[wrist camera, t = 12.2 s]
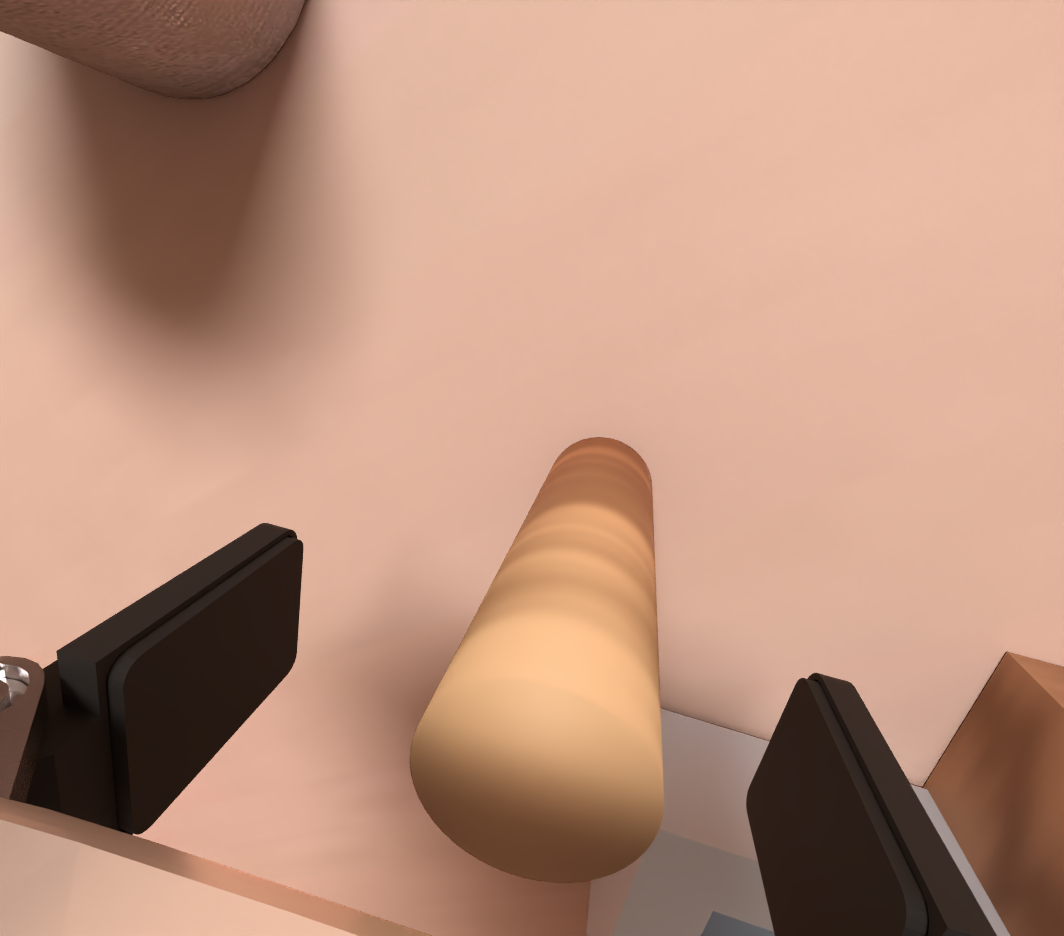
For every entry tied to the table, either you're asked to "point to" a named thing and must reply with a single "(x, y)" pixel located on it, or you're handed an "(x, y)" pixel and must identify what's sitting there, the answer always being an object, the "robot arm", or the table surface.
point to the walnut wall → (1011, 793)
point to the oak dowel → (557, 686)
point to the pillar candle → (160, 38)
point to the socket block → (712, 846)
